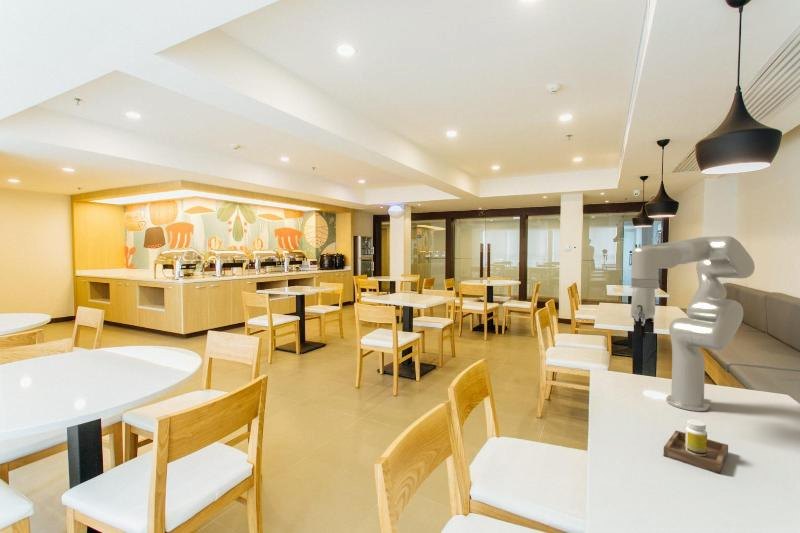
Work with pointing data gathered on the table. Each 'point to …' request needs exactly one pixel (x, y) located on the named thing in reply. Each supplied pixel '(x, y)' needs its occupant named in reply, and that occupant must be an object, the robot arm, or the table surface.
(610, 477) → the table surface
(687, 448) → the supplement bottle
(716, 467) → the tray
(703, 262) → the robot arm
